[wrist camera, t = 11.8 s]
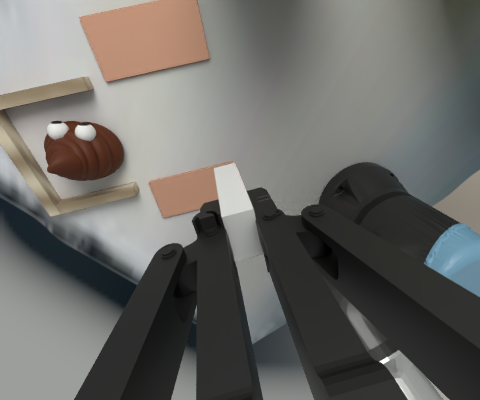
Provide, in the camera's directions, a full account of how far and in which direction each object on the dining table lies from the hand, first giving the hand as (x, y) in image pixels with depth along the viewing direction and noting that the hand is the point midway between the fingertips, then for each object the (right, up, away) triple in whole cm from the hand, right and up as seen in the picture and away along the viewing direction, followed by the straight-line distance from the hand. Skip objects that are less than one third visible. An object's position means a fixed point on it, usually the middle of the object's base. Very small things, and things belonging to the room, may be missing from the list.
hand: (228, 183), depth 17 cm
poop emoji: (-22, +7, +19) cm, 30 cm away
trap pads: (-9, +10, +19) cm, 23 cm away
